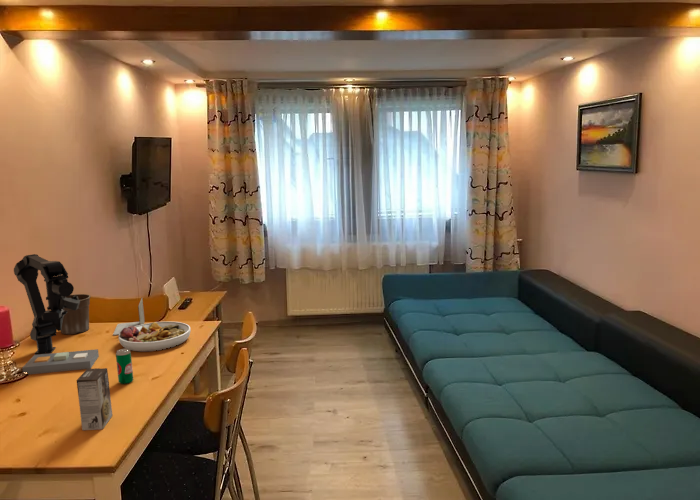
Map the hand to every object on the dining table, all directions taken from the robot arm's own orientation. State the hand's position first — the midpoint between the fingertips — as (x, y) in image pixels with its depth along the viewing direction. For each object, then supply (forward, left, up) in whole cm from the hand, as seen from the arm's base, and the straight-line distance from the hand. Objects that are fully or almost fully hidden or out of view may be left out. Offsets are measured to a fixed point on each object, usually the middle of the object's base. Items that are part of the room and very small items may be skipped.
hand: (59, 330), depth 230 cm
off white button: (+8, +9, -11) cm, 17 cm away
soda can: (+33, +30, -12) cm, 46 cm away
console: (+8, +2, -12) cm, 15 cm away
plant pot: (-40, -5, -12) cm, 42 cm away
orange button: (+8, -5, -11) cm, 15 cm away
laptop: (-36, +20, -12) cm, 43 cm away
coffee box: (+65, +27, -12) cm, 71 cm away
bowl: (-12, +35, -13) cm, 39 cm away
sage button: (+8, +2, -10) cm, 13 cm away
